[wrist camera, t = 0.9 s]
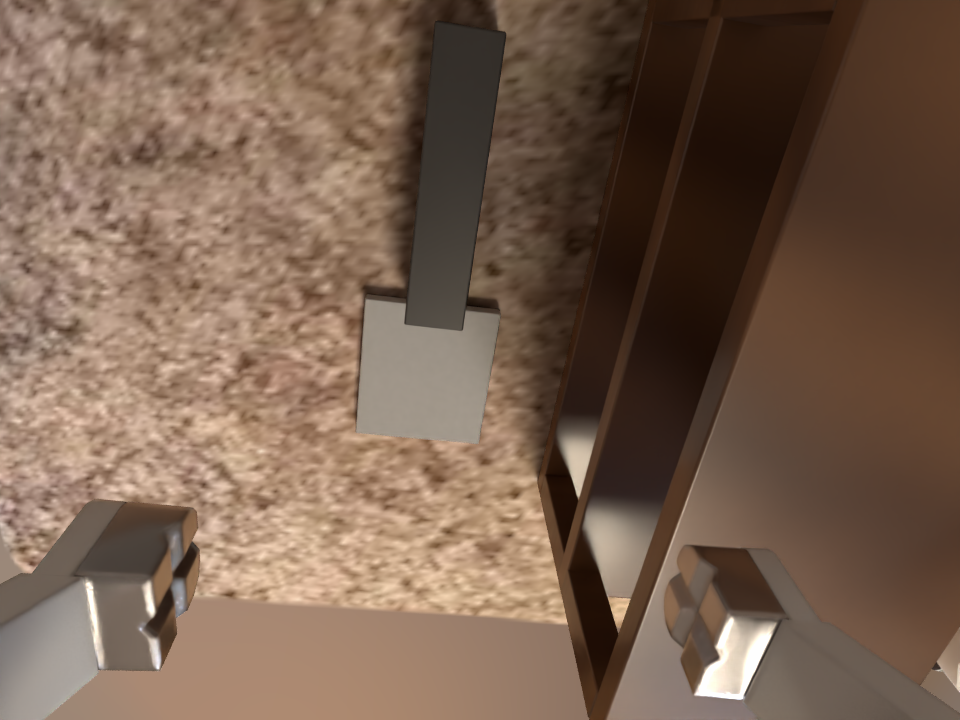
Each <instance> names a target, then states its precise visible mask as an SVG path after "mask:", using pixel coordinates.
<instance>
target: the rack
mask: <svg viewBox="0 0 960 720" xmlns="http://www.w3.org/2000/svg"><path fill="white" fill-rule="evenodd" d="M538 488H539V492H540V497H541V502H542V507H543V511H544V516H545V520H546V525H547V530H548V534H549V539H550V543H551V548H552V553H553V557H554V562H555V566H556V571H557V576H558V580H559V585H560V590H561V594H562V599H563V603H564V608H565V613H566V617H567V622H568V626H569V631H570V636H571V640H572V645H573V649H574V654H575V658H576V663H577V668H578V672H579V677H580V681H581V686H582V691H583V695H584V700H585V705H586V709H587V714H588V717H589V720H760V719H759V718H758V717H757V716H756V715H755V714H754V713H753V712H752V711H751V710H750V709H749V708H748V707H747V706H746V705H745V703H744V702H743V700H744V699H734V698H721V697H708V696H694V695H693V692H692V690H691V687H690V685H689V682H688V680H687V677H686V675H685V672H684V670H683V667H682V665H681V662H680V657H681V655H682V652H683V650H684V649H683V648H682V647H681V646H680V645H679V644H678V643H677V642H675V641H674V640H673V639H672V638H671V637H670V634H669V631H668V629H667V626H666V623H665V617H664V594H665V591H666V588H667V585H668V581H669V580H670V579H672V578H673V577H674V576H676V575H677V574H678V573H680V570H679V568H678V566H677V563H676V559H677V557H678V554H679V552H680V550H681V549H682V548H683V546H684V545H685V544H689V545H704V546H719V547H734V548H741V547H744V548H762V549H769V550H771V551H772V552H774V553H775V554H776V555H777V557H778V558H779V560H780V561H781V563H782V564H783V566H784V567H785V569H786V570H787V572H788V573H789V575H790V576H791V578H792V579H793V581H794V582H795V584H796V585H797V586H798V588H799V589H800V591H801V592H802V594H803V595H804V597H805V598H806V600H807V601H808V603H809V604H810V606H811V607H812V609H813V610H814V612H815V613H816V615H817V616H818V618H819V619H820V621H821V622H829V623H831V624H833V625H834V626H836V627H837V628H838V629H840V630H841V631H843V632H844V633H846V634H847V635H848V636H850V637H851V638H853V639H854V640H856V641H857V642H858V643H860V644H861V645H863V646H864V647H866V648H867V649H868V650H870V651H871V652H873V653H874V654H876V655H877V656H878V657H880V658H881V659H883V660H884V661H886V662H887V663H888V664H890V665H891V666H893V667H894V668H896V669H897V670H898V671H900V672H901V673H903V674H904V675H906V676H907V677H908V678H910V679H911V680H913V681H914V682H916V683H917V684H919V685H921V684H922V682H923V681H924V679H925V678H926V677H927V675H928V674H929V672H930V671H931V669H932V668H933V666H934V665H935V663H936V662H937V660H938V659H939V657H940V656H941V654H942V653H943V651H944V650H945V649H946V647H947V646H948V644H949V643H950V641H951V640H952V638H953V637H954V635H955V634H956V632H957V631H958V629H959V628H960V0H649V3H648V7H647V11H646V15H645V20H644V24H643V28H642V33H641V37H640V41H639V46H638V50H637V54H636V59H635V63H634V67H633V72H632V76H631V80H630V85H629V89H628V93H627V98H626V102H625V106H624V111H623V115H622V119H621V124H620V128H619V132H618V137H617V141H616V145H615V150H614V154H613V158H612V163H611V167H610V171H609V176H608V180H607V184H606V189H605V193H604V197H603V202H602V206H601V210H600V215H599V219H598V223H597V228H596V232H595V236H594V241H593V245H592V249H591V254H590V258H589V262H588V267H587V271H586V275H585V280H584V284H583V288H582V293H581V297H580V301H579V306H578V310H577V314H576V319H575V323H574V327H573V332H572V336H571V340H570V345H569V349H568V353H567V358H566V362H565V366H564V371H563V375H562V379H561V384H560V388H559V392H558V397H557V401H556V405H555V410H554V414H553V418H552V423H551V427H550V431H549V435H548V440H547V444H546V448H545V453H544V457H543V461H542V466H541V470H540V474H539V479H538ZM578 498H579V500H578ZM607 597H618V598H631V600H630V603H629V606H628V609H627V611H626V614H625V617H624V620H623V623H622V626H621V629H620V632H619V635H618V632H617V628H616V625H615V621H614V618H613V615H612V611H611V608H610V605H609V601H608V598H607Z"/></svg>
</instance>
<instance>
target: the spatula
mask: <svg viewBox="0 0 960 720" xmlns="http://www.w3.org/2000/svg"><path fill="white" fill-rule="evenodd" d="M505 41H506V33H505V32H503V31H497V30H491V29H485V28H479V27H473V26H467V25H461V24H455V23H449V22H443V21H436V22H435V26H434V35H433V45H432V55H431V65H430V75H429V84H428V94H427V104H426V114H425V123H424V133H423V143H422V153H421V163H420V172H419V182H418V192H417V202H416V212H415V221H414V231H413V241H412V251H411V261H410V270H409V280H408V290H407V299H405V298H396V297H387V296H379V295H370V294H367V295H366V298H365V309H364V323H363V337H362V351H361V365H360V379H359V393H358V407H357V421H356V433H363V434H374V435H385V436H396V437H407V438H418V439H429V440H440V441H451V442H462V443H473V444H478V443H479V438H480V432H481V426H482V420H483V415H484V409H485V403H486V397H487V392H488V386H489V380H490V374H491V369H492V363H493V357H494V352H495V346H496V340H497V334H498V329H499V323H500V317H501V313H500V310H499V309H491V308H482V307H473V306H466V305H467V299H468V292H469V285H470V278H471V272H472V265H473V258H474V251H475V244H476V238H477V231H478V224H479V217H480V210H481V204H482V197H483V190H484V183H485V177H486V170H487V163H488V156H489V149H490V143H491V136H492V129H493V122H494V115H495V109H496V102H497V95H498V88H499V81H500V75H501V68H502V61H503V54H504V48H505Z"/></svg>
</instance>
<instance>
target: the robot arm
mask: <svg viewBox="0 0 960 720" xmlns="http://www.w3.org/2000/svg"><path fill="white" fill-rule="evenodd" d="M197 529H198V520H197V511H196V510H195V509H194V508H191V507H181V506H171V505H160V504H150V503H140V502H123V501H113V500H102V499H94V500H92V501H90V502H88V503H87V504H85V506H84V507H83V508H82V510H81V511H80V512H79V513H78V515H77V516H76V517H75V519H74V520H73V521H72V522H71V524H70V525H69V526H68V528H67V529H66V530H65V531H64V533H63V534H62V535H61V537H60V538H59V539H58V540H57V542H56V543H55V544H54V546H53V547H52V548H51V549H50V551H49V552H48V553H47V555H46V556H45V557H44V558H43V560H42V561H41V562H40V564H39V565H38V566H37V567H36V569H35V570H34V571H33V573H32V574H25V573H21V574H18V575H17V576H15V577H13V578H11V579H9V580H7V581H5V582H3V583H1V584H0V720H44V719H45V718H46V717H48V716H49V715H50V714H51V713H52V712H53V711H55V710H56V709H57V708H58V707H59V706H61V705H62V704H63V703H64V702H65V701H67V700H68V699H69V698H70V697H71V696H73V695H74V694H75V693H76V692H77V691H78V690H80V689H81V688H82V687H83V686H84V685H86V684H87V683H88V682H89V681H90V680H92V679H93V678H94V677H95V676H96V675H97V674H98V670H126V671H127V670H128V671H160V670H161V668H162V666H163V664H164V661H165V659H166V657H167V655H168V652H169V650H170V648H171V646H172V643H173V641H174V639H175V637H176V635H177V627H176V618H177V617H178V616H180V615H181V614H183V613H184V612H185V611H187V610H188V608H189V605H190V603H191V601H192V598H193V596H194V593H195V589H196V585H197V581H198V577H199V568H200V550H199V548H198V547H197V546H196V545H195V544H194V543H193V542H192V540H193V538H194V535H195V533H196V531H197ZM676 563H677V566H678V568H679V570H680V573H678V574H677V575H676V576H674V577H673V578H672V579H670V580H669V581H668V585H667V588H666V591H665V594H664V617H665V623H666V626H667V629H668V631H669V634H670V637H671V638H672V639H673V640H674V641H675V642H677V643H678V644H679V645H680V646H681V647H682V648H683V649H684V650H683V652H682V655H681V657H680V662H681V665H682V667H683V670H684V672H685V675H686V677H687V680H688V682H689V685H690V687H691V690H692V692H693V695H694V696H708V697H721V698H734V699H744V700H743V702H744V703H745V705H746V706H747V707H748V708H749V709H750V710H751V711H752V712H753V713H754V714H755V715H756V716H757V717H758V718H759V719H760V720H960V713H959V712H957V711H956V710H954V709H953V708H951V707H950V706H948V705H947V704H945V703H944V702H943V701H941V700H940V699H939V698H937V697H936V696H934V695H933V694H931V693H930V692H928V691H927V690H926V689H924V688H923V687H921V686H920V685H919V684H917V683H916V682H914V681H913V680H911V679H910V678H908V677H907V676H906V675H904V674H903V673H901V672H900V671H898V670H897V669H896V668H894V667H893V666H891V665H890V664H888V663H887V662H886V661H884V660H883V659H881V658H880V657H878V656H877V655H876V654H874V653H873V652H871V651H870V650H868V649H867V648H866V647H864V646H863V645H861V644H860V643H858V642H857V641H856V640H854V639H853V638H851V637H850V636H848V635H847V634H846V633H844V632H843V631H841V630H840V629H838V628H837V627H836V626H834V625H833V624H831V623H829V622H821V621H820V619H819V618H818V616H817V615H816V613H815V612H814V610H813V609H812V607H811V606H810V604H809V603H808V601H807V600H806V598H805V597H804V595H803V594H802V592H801V591H800V589H799V588H798V586H797V585H796V584H795V582H794V581H793V579H792V578H791V576H790V575H789V573H788V572H787V570H786V569H785V567H784V566H783V564H782V563H781V561H780V560H779V558H778V557H777V555H776V554H775V553H774V552H772V551H771V550H769V549H762V548H744V547H741V548H734V547H719V546H704V545H689V544H685V545H684V546H683V548H682V549H681V550H680V552H679V554H678V557H677V559H676Z"/></svg>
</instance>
